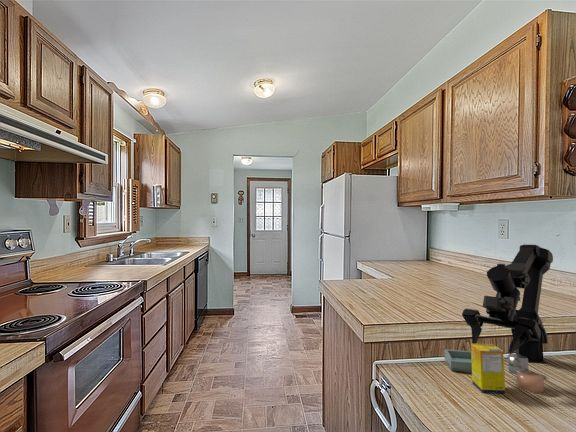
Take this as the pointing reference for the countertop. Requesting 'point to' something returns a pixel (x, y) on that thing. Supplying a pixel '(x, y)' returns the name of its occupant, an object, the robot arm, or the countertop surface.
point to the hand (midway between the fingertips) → (491, 348)
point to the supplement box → (488, 368)
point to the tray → (458, 360)
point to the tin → (517, 363)
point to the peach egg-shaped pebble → (530, 381)
